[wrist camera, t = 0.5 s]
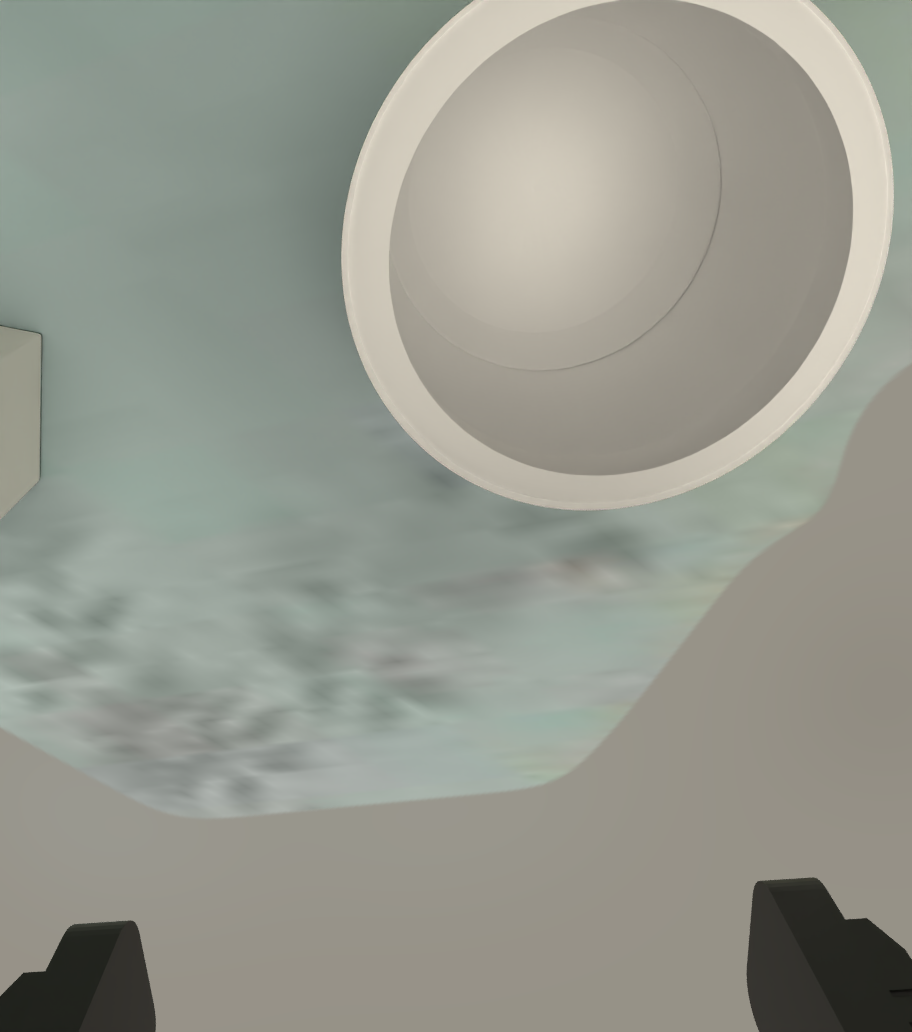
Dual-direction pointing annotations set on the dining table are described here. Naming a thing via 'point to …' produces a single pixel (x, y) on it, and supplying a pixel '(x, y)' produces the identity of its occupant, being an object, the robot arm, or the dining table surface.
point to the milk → (19, 414)
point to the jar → (616, 240)
